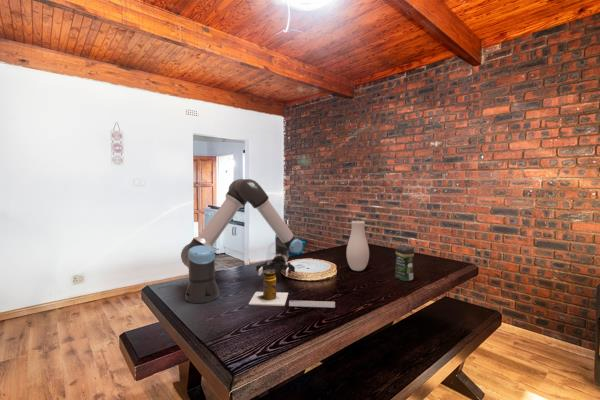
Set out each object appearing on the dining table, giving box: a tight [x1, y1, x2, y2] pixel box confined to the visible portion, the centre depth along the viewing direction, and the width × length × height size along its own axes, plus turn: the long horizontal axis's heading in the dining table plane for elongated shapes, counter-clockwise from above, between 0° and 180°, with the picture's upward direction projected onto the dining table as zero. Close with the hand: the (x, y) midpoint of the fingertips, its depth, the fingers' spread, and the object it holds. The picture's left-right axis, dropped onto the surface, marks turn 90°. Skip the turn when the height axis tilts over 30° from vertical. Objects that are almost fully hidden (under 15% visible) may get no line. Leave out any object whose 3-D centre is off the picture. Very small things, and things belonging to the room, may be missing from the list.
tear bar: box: [288, 299, 336, 308], centre depth 131 cm, size 20×2×2 cm, turn 86°
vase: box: [345, 220, 370, 272], centre depth 183 cm, size 14×14×30 cm
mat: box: [248, 291, 289, 307], centre depth 139 cm, size 16×14×1 cm
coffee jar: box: [394, 245, 415, 282], centre depth 166 cm, size 10×8×19 cm
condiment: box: [257, 270, 279, 302], centre depth 138 cm, size 7×8×12 cm
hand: (272, 273), depth 148 cm, fingers open, 13 cm apart
